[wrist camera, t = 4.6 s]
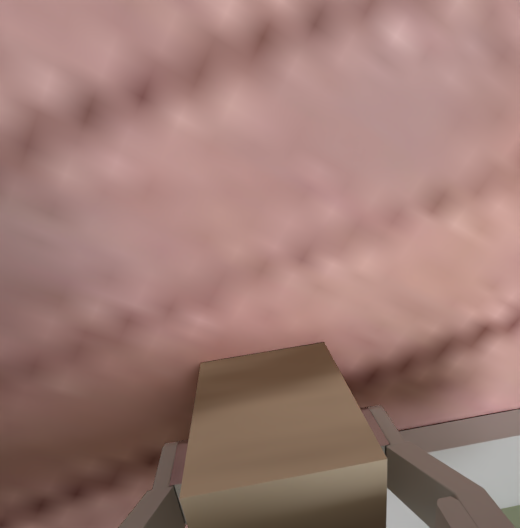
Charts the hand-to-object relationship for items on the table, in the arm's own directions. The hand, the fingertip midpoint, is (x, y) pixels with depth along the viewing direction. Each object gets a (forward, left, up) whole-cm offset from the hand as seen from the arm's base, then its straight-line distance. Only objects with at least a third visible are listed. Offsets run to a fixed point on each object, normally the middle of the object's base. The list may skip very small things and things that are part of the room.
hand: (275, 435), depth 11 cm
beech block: (0, 0, -2) cm, 2 cm away
